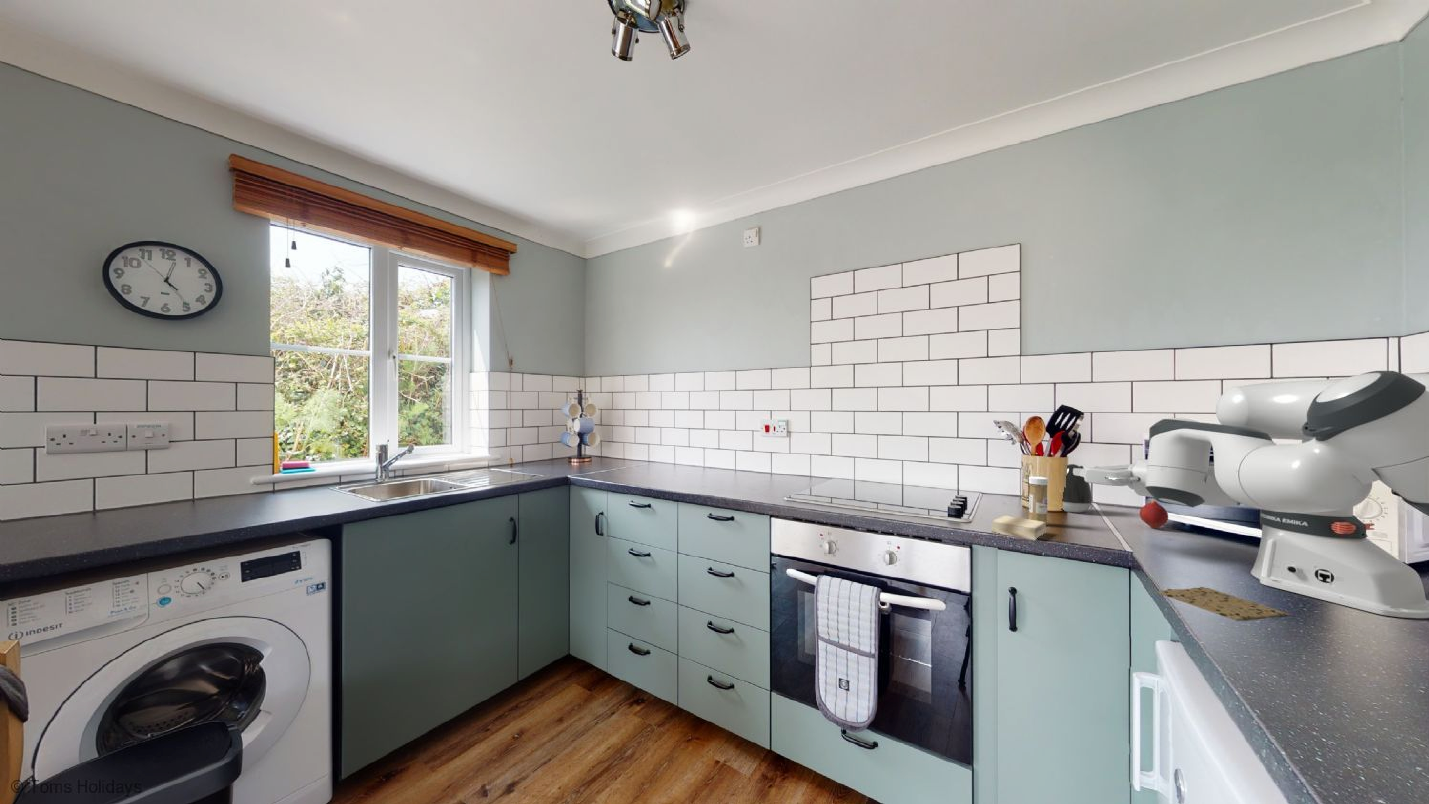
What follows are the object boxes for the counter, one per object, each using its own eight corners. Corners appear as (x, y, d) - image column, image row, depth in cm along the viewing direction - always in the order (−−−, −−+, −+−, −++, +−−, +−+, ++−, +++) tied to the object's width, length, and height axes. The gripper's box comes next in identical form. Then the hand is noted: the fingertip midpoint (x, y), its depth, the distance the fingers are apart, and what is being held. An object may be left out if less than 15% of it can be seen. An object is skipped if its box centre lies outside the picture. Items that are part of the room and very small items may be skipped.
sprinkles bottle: (1045, 526, 136) (1045, 479, 136) (1026, 523, 140) (1026, 477, 140) (1049, 524, 140) (1049, 477, 140) (1031, 521, 143) (1031, 475, 143)
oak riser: (1045, 533, 130) (1045, 522, 130) (1035, 540, 123) (1035, 528, 123) (1003, 526, 137) (1003, 515, 137) (991, 532, 130) (991, 521, 130)
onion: (1156, 526, 138) (1157, 498, 138) (1173, 531, 133) (1174, 502, 133) (1134, 525, 139) (1134, 497, 139) (1150, 530, 133) (1150, 501, 133)
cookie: (1293, 617, 80) (1293, 612, 80) (1237, 623, 78) (1237, 617, 78) (1207, 590, 92) (1207, 584, 92) (1155, 594, 89) (1155, 589, 89)
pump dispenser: (1099, 513, 155) (1100, 465, 155) (1080, 516, 150) (1081, 466, 150) (1064, 506, 164) (1065, 461, 164) (1046, 509, 159) (1046, 463, 159)
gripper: (1125, 494, 112) (1061, 484, 124) (1170, 488, 120) (1106, 480, 133) (1126, 467, 112) (1061, 460, 124) (1170, 463, 120) (1106, 457, 133)
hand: (1084, 470), depth 129 cm, fingers open, 8 cm apart
